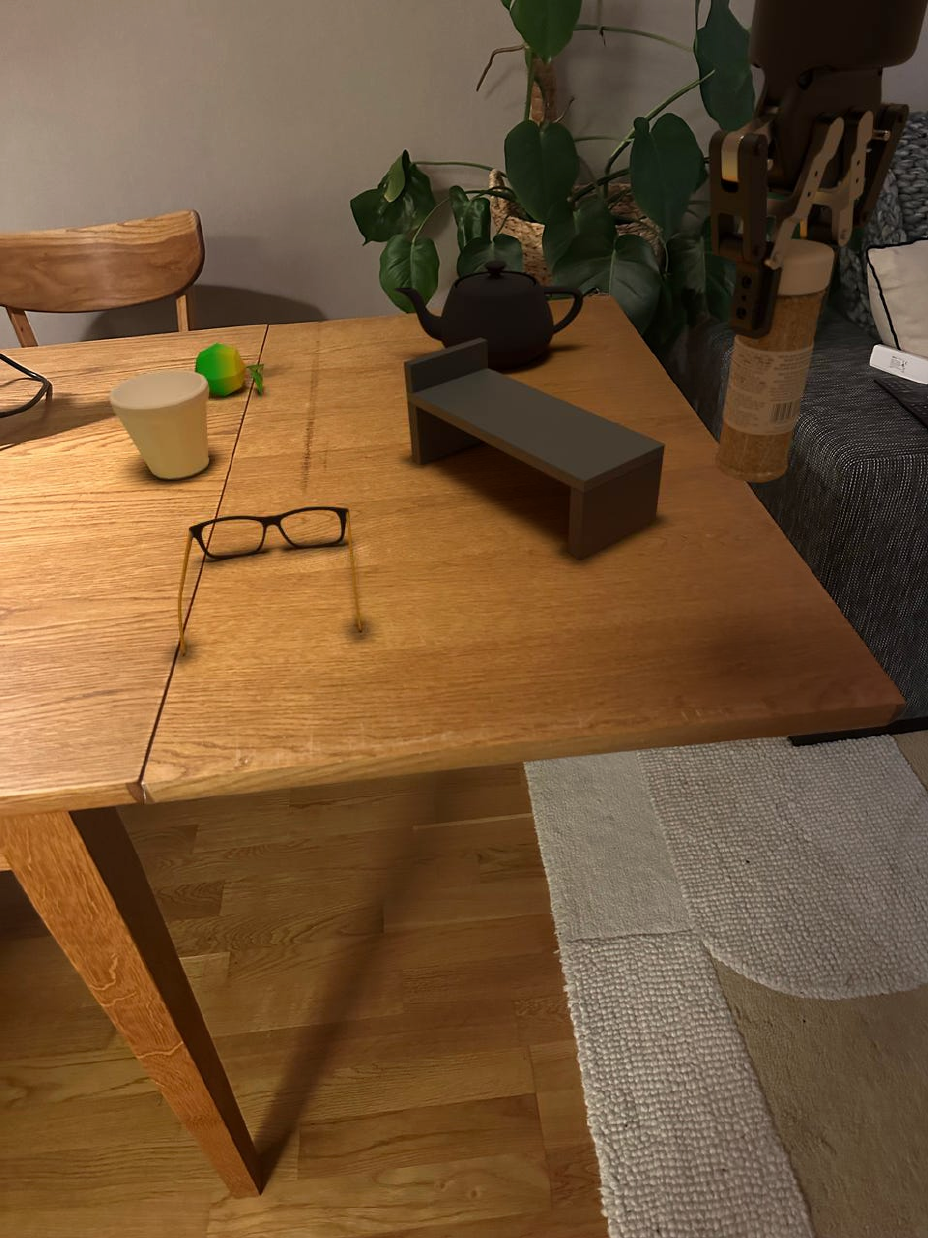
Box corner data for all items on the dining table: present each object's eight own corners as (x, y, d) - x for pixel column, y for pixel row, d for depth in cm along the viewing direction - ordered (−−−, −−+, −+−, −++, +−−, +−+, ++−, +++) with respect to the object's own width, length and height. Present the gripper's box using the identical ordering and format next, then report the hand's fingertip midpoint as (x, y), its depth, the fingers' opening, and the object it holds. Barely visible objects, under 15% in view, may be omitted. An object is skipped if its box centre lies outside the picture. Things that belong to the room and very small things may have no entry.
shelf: (656, 521, 77) (669, 411, 70) (580, 560, 72) (586, 448, 65) (483, 432, 93) (480, 337, 86) (412, 460, 88) (403, 361, 82)
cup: (242, 469, 88) (223, 388, 83) (153, 500, 84) (126, 416, 78) (205, 439, 95) (185, 361, 89) (121, 466, 90) (94, 386, 84)
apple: (184, 337, 101) (256, 330, 101) (199, 356, 107) (267, 350, 108) (189, 393, 101) (262, 386, 101) (204, 408, 107) (272, 402, 107)
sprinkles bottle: (764, 448, 54) (807, 232, 46) (800, 479, 51) (854, 252, 43) (700, 458, 54) (732, 240, 45) (733, 490, 50) (774, 261, 42)
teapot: (572, 331, 118) (575, 241, 110) (590, 371, 106) (595, 273, 98) (401, 341, 118) (393, 251, 110) (399, 382, 106) (390, 285, 98)
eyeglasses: (353, 537, 76) (347, 501, 74) (362, 632, 65) (356, 592, 63) (199, 556, 75) (189, 519, 73) (182, 656, 64) (168, 617, 61)
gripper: (836, -67, 30) (755, 375, 41) (1015, -73, 37) (905, 309, 47) (679, -54, 35) (642, 338, 46) (862, -61, 42) (794, 283, 52)
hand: (777, 322), depth 46 cm, fingers closed on sprinkles bottle, 4 cm apart
